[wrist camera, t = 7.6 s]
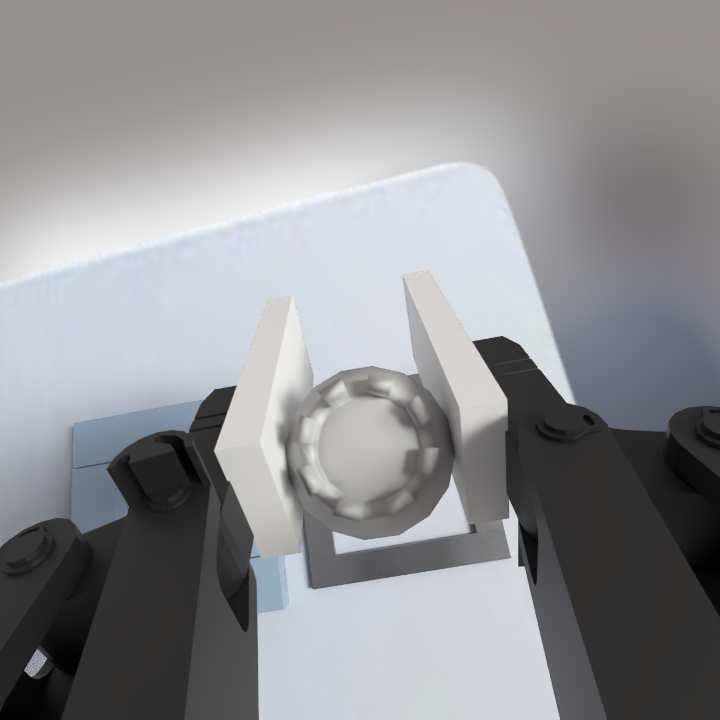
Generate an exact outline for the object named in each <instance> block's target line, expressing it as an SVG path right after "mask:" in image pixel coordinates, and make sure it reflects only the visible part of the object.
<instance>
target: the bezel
mask: <svg viewBox="0 0 720 720" xmlns="http://www.w3.org/2000/svg"><path fill="white" fill-rule="evenodd" d="M408 377H410V378H411V379H413V380H414V381H416V382H417V383H419V384H420V385H421V386H423V384H422V381H421V378H420V375H419V374H414V375H409V376H408ZM303 512H304V520H305V529H306V537H307V546H308V554H309V562H310V571H311V579H312V587H313V589H319V588H325V587H331V586H337V585H344V584H350V583H356V582H363V581H369V580H375V579H381V578H388V577H394V576H400V575H407V574H413V573H419V572H425V571H432V570H438V569H444V568H451V567H457V566H463V565H469V564H476V563H482V562H488V561H494V560H501V559H507V558H511V556H510V552H509V548H508V544H507V540H506V535H505V531H504V527H503V523H502V519H501V520H494V521H488V522H482V523H476V524H474V525H475V530H476V533H471V534H464V535H458V536H452V537H446V538H440V539H434V540H427V541H421V542H415V543H409V544H403V545H397V546H391V547H384V548H378V549H372V550H366V551H360V552H354V553H347V554H341V555H336V551H335V543H334V536H333V531H331V530H330V529H329V528H327V527H326V526H325V525H324V524H322V523H321V522H320V521H319V520H318V519H316V518H315V517H314V516H313V515H311V514H310V513H309V512H308V511H307V510H305V509H304V511H303Z"/></svg>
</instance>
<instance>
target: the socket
mask: <svg viewBox="0 0 720 720" xmlns="http://www.w3.org/2000/svg"><path fill="white" fill-rule="evenodd" d="M203 401H204V400H201V401H195V402H190V403H184V404H179V405H173V406H167V407H162V408H156V409H151V410H145V411H140V412H134V413H129V414H123V415H118V416H112V417H107V418H101V419H96V420H90V421H85V422H79V423H74V424H73V464H72V469H73V470H71V512H70V521H72V522H73V523H74V524H75V525H76V526H77V527H78V529H79V530H80V532H81V533H82V534H84V533H86V532H89V531H91V530H94V529H96V528H99V527H101V526H103V525H106V524H108V523H111V522H113V521H116V520H118V519H120V518H122V517H125V516H127V513H128V508H127V502H126V501H125V499H124V497H123V496H122V494H121V493H120V491H119V489H118V488H117V486H116V484H115V483H114V481H113V480H112V478H111V476H110V475H109V473H108V471H107V470H106V469H107V468H108V466H109V465H110V463H111V462H112V460H113V459H114V458H115V457H116V456H117V455H118V454H119V453H120V452H121V451H123V450H124V449H125V448H126V447H127V446H129V445H131V444H133V443H134V442H136V441H138V440H139V439H141V438H143V437H146V436H149V435H151V434H154V433H157V432H162V431H168V430H178V431H185V432H186V433H189V429H190V426H191V424H192V422H193V421H195V419H194V418H195V415H196V413H197V411H198V409H199V407H200V404H201V403H202V402H203ZM250 564H251V566H252V568H253V570H254V573H255V577H256V581H257V613H262V612H269V611H275V610H281V609H284V608H285V607H286V606H287V605H288V604H289V600H288V590H287V581H286V571H285V562H284V555H283V556H277V557H270V558H264V559H261V556H260V554H259V552H258V549H257V547H256V545H255V543H254V541H253V546H252V551H251V557H250Z"/></svg>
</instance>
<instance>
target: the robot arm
mask: <svg viewBox="0 0 720 720" xmlns="http://www.w3.org/2000/svg"><path fill="white" fill-rule="evenodd" d="M403 283H404V290H405V297H406V305H407V312H408V320H409V327H410V335H411V342H412V350H413V357H414V360H415V363H416V366H417V369H418V372H419V375H420V378H421V381H422V384H423V387H424V388H426V389H427V390H429V391H430V392H431V393H432V395H433V396H434V398H435V400H436V401H437V403H438V404H439V406H440V407H441V409H442V410H443V412H444V413H445V415H446V416H447V419H448V423H449V428H450V432H451V437H452V441H453V446H454V451H455V457H454V462H453V467H452V475H453V478H454V481H455V484H456V487H457V490H458V493H459V496H460V499H461V502H462V505H463V508H464V511H465V514H466V517H467V520H468V523H469V525H470V524H476V523H482V522H488V521H494V520H501V519H507V518H509V500H510V502H511V504H512V506H513V508H514V510H515V513H516V515H517V517H518V566H525V570H526V574H527V578H528V583H529V587H530V591H531V596H532V600H533V604H534V609H535V613H536V617H537V621H538V626H539V630H540V634H541V639H542V643H543V647H544V652H545V656H546V660H547V665H548V669H549V673H550V677H551V682H552V686H553V690H554V695H555V699H556V703H557V708H558V712H559V716H560V720H720V407H713V406H699V407H689V408H686V409H684V410H681V411H679V412H677V413H675V414H674V415H673V417H672V418H671V419H670V420H669V422H668V427H667V432H654V431H632V430H631V431H630V430H621V429H613V428H609V427H608V425H607V424H606V423H605V422H604V421H603V419H602V418H601V417H600V416H598V414H596V413H594V412H592V411H590V410H588V409H586V408H584V407H581V406H577V405H573V404H569V403H566V402H565V400H564V399H563V398H562V397H561V395H560V394H559V393H558V392H557V390H556V389H555V388H554V387H553V385H552V384H551V383H550V382H549V380H548V379H547V378H546V377H545V375H544V374H543V373H542V372H541V371H540V369H538V368H537V366H536V364H535V363H534V362H533V361H532V359H530V358H529V356H528V354H527V353H526V352H525V351H524V349H523V348H522V347H521V346H520V345H519V344H517V343H515V342H513V341H511V340H509V339H507V338H505V337H503V336H500V337H494V338H489V339H483V340H478V341H471V339H470V337H469V336H468V334H467V332H466V331H465V329H464V327H463V326H462V324H461V322H460V321H459V319H458V318H457V316H456V314H455V313H454V311H453V309H452V308H451V306H450V304H449V303H448V301H447V300H446V298H445V296H444V295H443V293H442V291H441V290H440V288H439V286H438V285H437V283H436V281H435V280H434V278H433V277H432V275H431V273H430V272H429V270H427V271H422V272H417V273H411V274H406V275H403ZM312 388H313V372H312V368H311V364H310V360H309V357H308V353H307V349H306V345H305V342H304V338H303V334H302V330H301V327H300V323H299V319H298V316H297V312H296V308H295V304H294V301H293V297H292V296H289V297H284V298H278V299H273V300H268V301H266V304H265V307H264V310H263V313H262V315H261V318H260V321H259V324H258V327H257V330H256V333H255V335H254V338H253V341H252V344H251V347H250V350H249V353H248V355H247V358H246V361H245V364H244V367H243V370H242V372H241V375H240V378H239V381H238V384H237V386H232V387H226V388H221V389H215V390H214V391H213V392H212V393H211V394H210V395H209V396H208V397H207V398H206V399H205V400H204V401H203V402H202V403H201V404H200V407H199V409H198V411H197V413H196V415H195V418H194V419H195V421H193V422H192V424H191V426H190V429H189V433H186V432H185V431H178V430H168V431H162V432H157V433H154V434H151V435H149V436H146V437H143V438H141V439H139V440H138V441H136V442H134V443H133V444H131V445H129V446H127V447H126V448H125V449H124V450H123V451H121V452H120V453H119V454H118V455H117V456H116V457H115V458H114V459H113V460H112V462H111V463H110V465H109V466H108V468H107V469H106V470H107V471H108V473H109V475H110V476H111V478H112V480H113V481H114V483H115V484H116V486H117V488H118V489H119V491H120V493H121V494H122V496H123V497H124V499H125V501H126V502H127V504H128V506H129V510H128V513H127V516H125V517H122V518H120V519H118V520H116V521H113V522H111V523H108V524H106V525H103V526H101V527H99V528H96V529H94V530H91V531H89V532H86V533H84V534H82V533H81V532H80V530H79V529H78V527H77V526H76V525H75V524H74V523H73V522H72V521H70V520H69V519H61V518H55V519H51V520H47V521H43V522H40V523H38V524H36V525H33V526H31V527H30V528H27V529H25V530H23V531H21V532H20V533H18V534H17V535H16V536H15V537H13V538H12V539H10V540H9V541H7V542H6V543H5V544H4V545H3V546H2V547H1V548H0V720H259V710H258V637H257V581H256V577H255V573H254V570H253V568H252V566H251V564H250V557H251V551H252V546H253V541H254V543H255V545H256V547H257V549H258V552H259V554H260V556H261V559H264V558H270V557H277V556H283V555H289V554H295V553H300V552H301V539H302V525H303V511H304V507H303V505H302V503H301V501H300V499H299V498H298V496H297V494H296V492H295V490H294V488H293V486H292V484H291V482H290V480H289V474H288V465H287V456H286V447H285V444H286V440H287V437H288V433H289V430H290V426H291V423H292V419H293V416H294V413H295V412H296V410H297V409H298V408H299V406H300V405H301V404H302V403H303V401H304V400H305V399H306V397H307V396H308V395H309V393H310V392H311V391H312ZM37 649H38V650H39V651H40V652H41V653H42V654H43V655H44V656H45V657H46V658H47V660H46V662H45V664H44V665H43V666H42V668H41V669H40V670H39V671H38V673H37V674H36V675H35V676H33V677H30V676H29V675H28V674H27V673H26V672H25V671H24V669H25V668H26V666H27V664H28V663H29V661H30V659H31V658H32V656H33V654H34V653H35V651H36V650H37Z"/></svg>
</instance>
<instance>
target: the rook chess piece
mask: <svg viewBox="0 0 720 720" xmlns="http://www.w3.org/2000/svg"><path fill="white" fill-rule="evenodd" d="M285 447H286V456H287V465H288V474H289V480H290V482H291V484H292V486H293V488H294V490H295V492H296V494H297V496H298V498H299V499H300V501H301V503H302V505H303V507H304V509H305V510H307V511H308V512H309V513H310V514H311V515H313V516H314V517H315V518H316V519H318V520H319V521H320V522H321V523H322V524H324V525H325V526H326V527H327V528H329V529H330V530H331V531H334V532H338V533H341V534H345V535H349V536H352V537H356V538H359V539H363V540H368V539H375V538H382V537H389V536H395V535H400V534H402V533H403V532H405V531H406V530H408V529H409V528H411V527H413V526H414V525H416V524H417V523H419V522H420V521H422V520H424V519H425V518H427V517H428V516H429V515H430V514H431V512H432V511H433V509H434V508H435V506H436V505H437V503H438V502H439V500H440V499H441V498H442V496H443V495H444V493H445V492H446V490H447V489H448V487H449V483H450V477H451V472H452V467H453V462H454V457H455V451H454V446H453V441H452V437H451V432H450V428H449V423H448V419H447V416H446V415H445V413H444V412H443V410H442V409H441V407H440V406H439V404H438V403H437V401H436V400H435V398H434V396H433V395H432V393H431V392H430V391H429V390H427V389H426V388H424V387H423V386H421V385H420V384H419V383H417V382H416V381H414V380H413V379H411V378H410V377H408V376H407V375H405V374H404V373H401V372H396V371H392V370H387V369H383V368H378V367H374V366H370V367H364V368H358V369H352V370H346V371H341V372H339V373H337V374H336V375H334V376H332V377H331V378H329V379H327V380H326V381H324V382H322V383H321V384H319V385H317V386H316V387H314V388H313V389H312V391H311V392H310V393H309V395H308V396H307V397H306V399H305V400H304V401H303V403H302V404H301V405H300V406H299V408H298V409H297V410H296V412H295V413H294V416H293V419H292V423H291V426H290V430H289V433H288V437H287V440H286V444H285Z"/></svg>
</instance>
